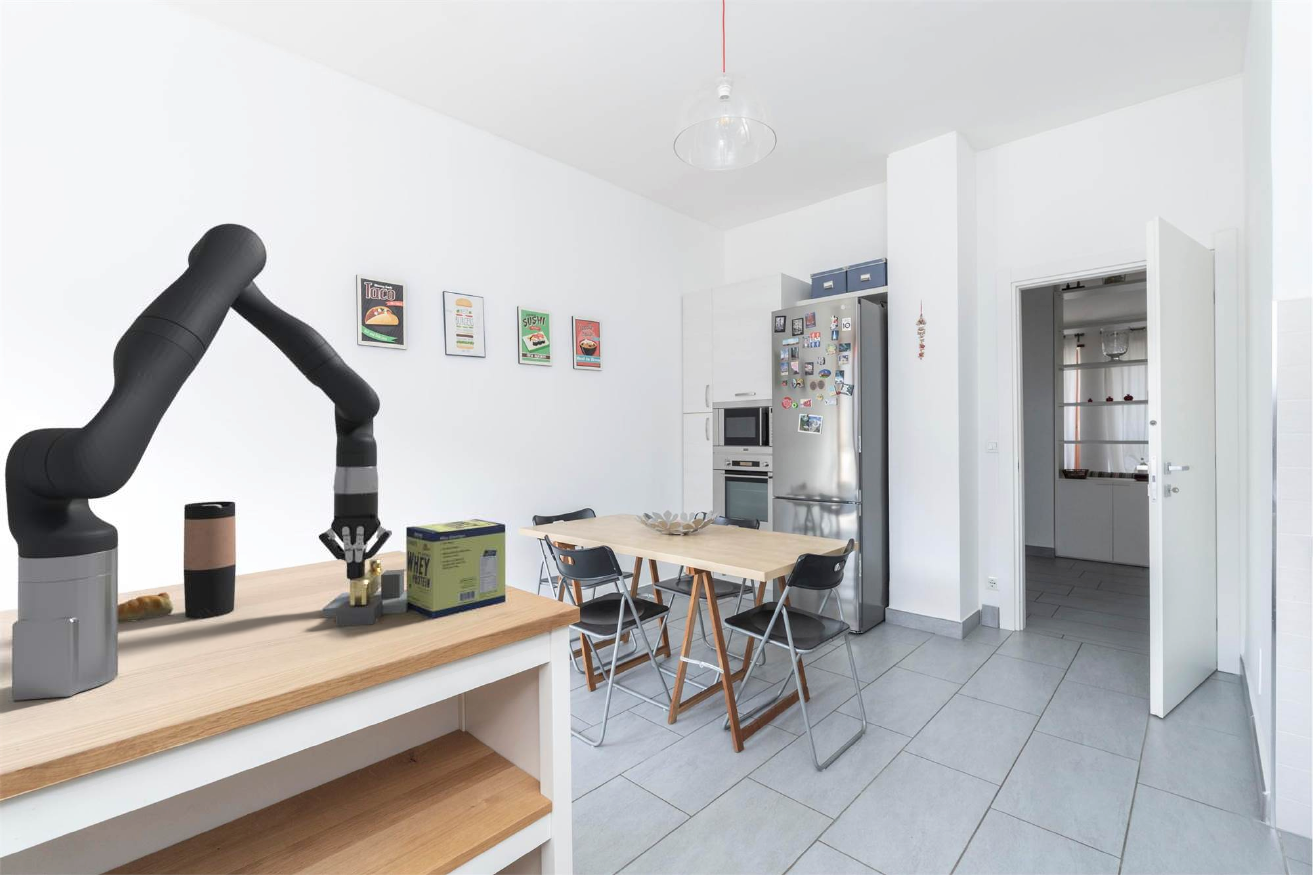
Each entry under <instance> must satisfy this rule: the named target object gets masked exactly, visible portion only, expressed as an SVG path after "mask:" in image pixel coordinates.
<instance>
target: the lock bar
mask: <svg viewBox="0 0 1313 875" xmlns="http://www.w3.org/2000/svg"><path fill="white" fill-rule="evenodd" d="M368 560H369V559H368ZM381 563H382V562H381V559H380V558H374V559H370V560H369V566H368V567H369V570H367V571H365V574H364V575H363V576H362V577H361V578H357V579H352V580H350V579H349V593H350V606H351V605H366V604H367V603H370V599H371V598H372V597H373V595H374V594H375V593H376V592H377V591H379V589H381V575H382V574H383V573H384V569H383V568H381V567H382V566H381V565H382V564H381Z"/></svg>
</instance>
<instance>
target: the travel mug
mask: <svg viewBox="0 0 1313 875" xmlns="http://www.w3.org/2000/svg"><path fill="white" fill-rule="evenodd" d="M183 508H184V509H183V510H184V512H183V518H184V519H183V520H184V521H183V590H184V610H185V611H184V612H185V618H187V619H192V620H193V619H197V620H198V619H201V620H202V619H209V618H216V617H220V616H224V614H225V615H227V614H230V613H232V612H233V611H234V610H235V597H236V596H235V593H236V592H235V591H236V570H237V568H236V567H237V564H236V563H237V552H236V550H237V547H236V545H237V544H236V543H237V542H236V541H237V540H236V538H237V537H236V536H237V533H236V527H237V526H236V502H235V501H228V500H227V501H222V500H221V501H206V502H205V501H203V502H202V501H201V502H193V503H187V504H184V506H183ZM215 616H216V617H215Z"/></svg>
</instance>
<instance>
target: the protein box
mask: <svg viewBox="0 0 1313 875" xmlns="http://www.w3.org/2000/svg"><path fill="white" fill-rule="evenodd" d="M405 530H406V531H405V532H406V534H405V535H406V536H405V537H406V540H405V542H406V546H405V548H406V558H405V559H406V563H405V564H406V567H405V568H406V590H407V601H409V609H408V610H411V611H412V612H414V613H417V614H419V615H421V616H424V617H427V618H429V619H431V620H435V619H439V618H443V617H448V616H452V615H453V616H454V615H456V614H461V613H465V612H469V611H474V610H478V609H481V608H486V607H489V606H494V604H495V605H499V604H502V603H506V596H507V595H506V593H507V592H506V524H504V523H501V522H500V523H499V522H496V521H489V520H483V519H478V518H477V519H476V518H474V519H466V520H459V521H458V520H457V521H450V522H443V523H441V522H440V523H435V524H432V523H431V524H426V525H417V526H416V525H415V526H414V525H413V526H406V529H405ZM498 603H499V604H498ZM485 606H486V607H485ZM477 608H478V609H477ZM473 609H474V610H473ZM468 610H469V611H468ZM460 612H461V613H460Z"/></svg>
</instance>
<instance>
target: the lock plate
mask: <svg viewBox="0 0 1313 875" xmlns="http://www.w3.org/2000/svg"><path fill="white" fill-rule="evenodd" d="M409 610H410V609H409V601H407V589H405V569H386V570H385V571H383V574H382V575H381V587H380V591H379V590H378V591H377V592H376V593H375V594H374V595H373V597H372V598H371V599H370V603H367V604H366V605H351V606H350V592H341V593H340V594H339V595H337V597H335V598H334V599H333V600H331V601H330V602H329V603H328V604H327V605H325V606H324V607H323V608H322V618H330V617H335V626H336V627H342V626H343V627H345V626H347V627H348V626H359V625H360V626H361V625H374V624H376V623H377V621H378V620H379V619H380V617H382V615H384V614H385V615H388V614H400V613H401V614H402V613H407V612H408V611H409Z"/></svg>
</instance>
